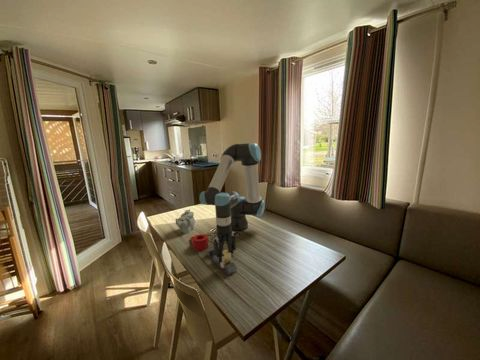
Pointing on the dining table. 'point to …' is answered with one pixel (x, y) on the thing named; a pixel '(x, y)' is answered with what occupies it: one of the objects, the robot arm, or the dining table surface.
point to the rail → (228, 268)
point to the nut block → (226, 257)
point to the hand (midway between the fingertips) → (226, 265)
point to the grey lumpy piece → (186, 222)
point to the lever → (200, 242)
